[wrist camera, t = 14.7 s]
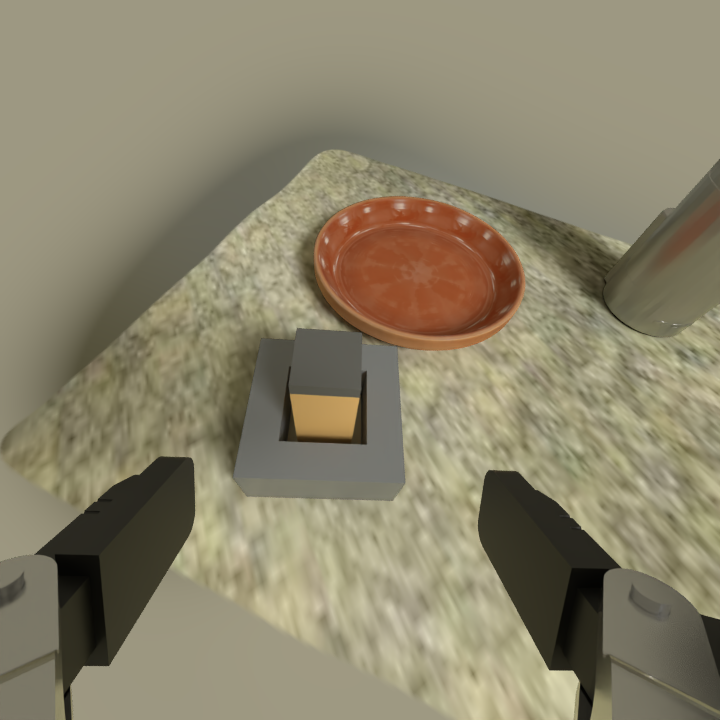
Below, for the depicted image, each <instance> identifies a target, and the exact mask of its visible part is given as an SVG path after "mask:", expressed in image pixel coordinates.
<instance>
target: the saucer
mask: <svg viewBox="0 0 720 720" xmlns="http://www.w3.org/2000/svg"><path fill="white" fill-rule="evenodd" d="M314 270H315V276H316V280H317V283H318V286H319V288H320V290H321V292H322V294H323V296H324V297H325V299H326V300H327V302H328V303H329V304H330V306H331V307H332V308H333V309H334V310H335V311H336V312H337V313H338V314H339V315H340V316H341V317H342V318H343V319H345V320H346V321H347V322H348V323H350V324H351V325H353V326H354V327H356V328H357V329H359V330H361V331H362V332H364V333H366V334H368V335H370V336H372V337H374V338H377V339H379V340H382V341H384V342H387V343H390V344H394V345H397V346H401V347H406V348H411V349H419V350H452V349H459V348H463V347H467V346H471V345H474V344H477V343H479V342H482V341H484V340H486V339H488V338H489V337H491V336H493V335H494V334H496V333H497V332H498V331H500V330H501V329H502V328H503V327H504V326H505V325H506V324H507V323H508V321H509V320H510V319H511V317H512V316H513V315H514V314H515V312H516V311H517V309H518V307H519V305H520V304H521V301H522V299H523V296H524V291H525V275H524V271H523V267H522V264H521V262H520V259H519V257H518V256H517V254H516V252H515V251H514V249H513V248H512V246H511V245H510V244H509V243H508V242H507V240H506V239H505V238H504V237H503V236H502V235H501V234H500V233H498V232H497V231H496V230H495V229H494V228H492V227H491V226H490V225H488V224H487V223H485V222H484V221H482V220H481V219H479V218H477V217H476V216H474V215H472V214H470V213H468V212H466V211H464V210H461V209H459V208H457V207H454V206H451V205H448V204H445V203H442V202H438V201H433V200H429V199H424V198H416V197H405V196H390V197H380V198H373V199H368V200H364V201H361V202H358V203H355V204H352V205H350V206H348V207H346V208H344V209H342V210H341V211H339V212H337V213H336V214H335V215H333V216H332V217H331V218H330V219H329V220H328V221H327V222H326V223H325V225H324V226H323V227H322V229H321V230H320V232H319V234H318V236H317V239H316V242H315V246H314Z"/></svg>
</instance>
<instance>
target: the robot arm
mask: <svg viewBox="0 0 720 720" xmlns="http://www.w3.org/2000/svg"><path fill="white" fill-rule="evenodd" d="M604 278H605V280H606V286H605V287H604V291H603V296H604V300H605V302H606V304H607V306H608V307H609V309H610V310H611V311H612V313H613V314H614V315H615V316H616V317H617V318H618V319H620V320H621V321H622V322H624V323H625V324H626V325H628V326H630V327H632V328H633V329H635V330H637V331H640V332H642V333H645V334H648V335H651V336H657V337H671V336H675V335H677V334H679V333H680V332H682V331H683V330H684V329H686V328H687V327H688V326H690V325H692V324H693V323H694V322H695V321H696V320H698V319H699V318H701V317H702V316H703V315H705V314H706V313H707V312H709V311H710V310H712V309H713V308H714V307H716V306H717V305H718V304H720V159H719V160H718V161H717V163H716V164H715V165H714V166H713V167H712V168H711V169H710V170H709V171H708V173H707V174H706V175H705V176H704V177H703V178H702V179H701V180H700V182H699V183H698V184H697V185H696V186H695V187H694V188H693V189H692V190H691V191H690V192H689V194H688V195H687V196H686V197H685V198H684V199H683V200H682V201H681V203H680V204H679V205H678V206H677V207H676V208H667V209H665V210H663V211H662V212H661V213H660V214H659V215H658V217H657V218H656V219H655V220H654V221H653V222H652V224H651V225H650V226H649V227H648V228H647V229H646V230H645V231H644V233H643V234H642V235H641V236H640V237H639V238H638V240H637V241H636V242H635V243H634V244H633V245H632V246H631V247H630V249H629V250H628V251H627V252H626V253H625V254H624V255H623V257H622V258H621V259H620V260H619V261H618V262H617V263H616V264H615V266H614V267H613V268H612V269H611V270H610V271H609V272H608V274H607V275H606V276H605V277H604ZM194 517H195V487H194V463H193V460H192V459H191V458H189V457H164V456H161V457H158V458H157V459H156V460H155V461H154V462H153V463H152V464H151V465H150V466H149V467H147V468H146V469H145V470H144V471H143V472H142V473H141V474H140V475H133V476H131V477H129V478H127V479H125V480H123V481H122V482H120V483H118V484H116V485H114V486H112V487H111V488H110V489H109V490H108V491H107V492H106V493H104V494H103V495H102V496H101V497H100V498H99V499H98V501H97V502H94V503H93V504H92V505H91V506H89V507H88V508H87V509H86V510H85V512H84V514H80V515H79V516H78V517H77V518H76V519H75V520H74V521H72V522H71V523H70V524H69V525H68V526H67V527H65V529H63V530H62V531H61V532H60V533H59V534H57V535H56V536H55V537H54V538H53V539H52V540H50V541H49V542H48V543H47V544H46V545H45V546H44V547H42V548H41V549H40V550H39V551H38V552H37V553H36V554H34V555H26V556H19V557H14V558H11V559H7V560H4V561H1V562H0V720H73V700H72V689H71V683H72V682H73V680H74V679H75V677H76V676H77V674H78V673H79V672H80V670H81V669H82V667H83V666H109V665H110V664H111V662H112V660H113V659H114V657H115V655H116V654H117V652H118V651H119V649H120V647H121V646H122V644H123V642H124V641H125V639H126V637H127V636H128V634H129V633H130V631H131V629H132V628H133V626H134V624H135V623H136V621H137V619H138V618H139V616H140V615H141V613H142V611H143V610H144V608H145V607H146V605H147V603H148V602H149V600H150V598H151V597H152V595H153V593H154V592H155V590H156V589H157V587H158V585H159V584H160V582H161V580H162V579H163V577H164V576H165V574H166V572H167V571H168V569H169V567H170V566H171V564H172V563H173V561H174V559H175V558H176V556H177V554H178V553H179V551H180V550H181V548H182V546H183V545H184V543H185V541H186V540H187V538H188V536H189V534H190V532H191V530H192V526H193V523H194ZM478 532H479V537H480V541H481V544H482V546H483V548H484V550H485V552H486V553H487V555H488V557H489V559H490V561H491V563H492V565H493V566H494V568H495V570H496V572H497V574H498V576H499V578H500V579H501V581H502V583H503V585H504V587H505V589H506V591H507V593H508V594H509V596H510V598H511V600H512V602H513V604H514V606H515V607H516V609H517V611H518V613H519V615H520V617H521V619H522V620H523V622H524V624H525V626H526V628H527V630H528V632H529V633H530V635H531V637H532V639H533V641H534V643H535V645H536V646H537V648H538V650H539V652H540V654H541V656H542V658H543V659H544V661H545V663H546V665H547V667H548V669H549V670H573V671H574V672H575V674H576V676H577V677H578V679H579V683H578V687H577V691H576V698H575V711H574V720H720V620H719V619H716V618H712V617H708V616H704V615H700V614H699V613H698V611H697V610H696V608H695V607H694V606H693V605H692V604H691V603H690V602H689V601H688V600H687V599H686V598H685V597H684V596H682V595H681V594H680V593H679V592H677V591H676V590H674V589H673V588H672V587H670V586H668V585H667V584H665V583H663V582H662V581H660V580H658V579H656V578H654V577H651V576H649V575H647V574H644V573H641V572H638V571H634V570H630V569H622V568H621V567H620V566H619V565H618V564H617V563H616V562H615V561H614V560H613V559H612V558H611V557H610V556H609V555H608V554H607V553H606V552H605V551H604V550H603V549H602V548H601V547H600V546H599V545H598V544H597V543H596V542H595V541H594V540H593V539H592V538H591V537H590V536H589V535H588V534H587V533H586V532H585V531H584V530H581V526H580V525H579V524H578V523H577V522H576V521H575V520H574V519H573V518H570V515H569V514H568V513H567V512H566V511H565V510H564V509H563V508H562V507H561V506H560V505H559V504H558V503H557V502H556V501H554V500H552V499H551V498H549V497H548V496H546V495H544V494H543V493H541V492H539V491H538V490H535V489H534V488H533V487H532V486H531V485H530V484H529V483H528V482H527V481H526V480H525V479H524V478H523V477H522V476H521V475H520V473H518V472H517V471H497V470H489V471H488V472H487V473H486V475H485V479H484V485H483V492H482V498H481V505H480V511H479V518H478Z"/></svg>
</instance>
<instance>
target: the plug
mask: <svg viewBox="0 0 720 720" xmlns="http://www.w3.org/2000/svg"><path fill="white" fill-rule="evenodd" d="M361 369H362V333H361V332H346V331H331V330H316V329H302V328H297V331H296V338H295V345H294V351H293V358H292V365H291V371H290V378H289V392H290V398H291V404H292V410H293V416H294V423H295V429H296V435H297V441H298V442H311V443H336V444H351V442H352V436H353V431H354V426H355V420H356V415H357V409H358V404H359V398H360V393H361Z"/></svg>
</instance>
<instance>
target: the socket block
mask: <svg viewBox="0 0 720 720" xmlns="http://www.w3.org/2000/svg"><path fill="white" fill-rule="evenodd" d="M294 345H295V340H282V339H265V338H261V342H260V347H259V352H258V357H257V362H256V367H255V371H254V376H253V381H252V386H251V391H250V396H249V401H248V406H247V411H246V415H245V420H244V425H243V430H242V435H241V440H240V445H239V450H238V455H237V459H236V464H235V469H234V474H233V479H234V480H235V481H236V483H237V484H238V485H239V487H240V488H241V489H242V491H243V492H244V493H245V495H246V496H252V497H285V498H319V499H353V500H386V501H393V500H394V498H395V497H396V496H397V494H398V493H399V491H400V490H401V489H402V487H403V486H404V484H405V470H404V453H403V436H402V420H401V403H400V386H399V370H398V353H397V346H383V345H366V344H362V369H361V393H360V398H359V404H358V409H357V415H356V420H355V426H354V431H353V436H352V442H351V444H336V443H311V442H298V441H297V435H296V429H295V423H294V416H293V410H292V404H291V398H290V392H289V378H290V371H291V365H292V358H293V351H294Z"/></svg>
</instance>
